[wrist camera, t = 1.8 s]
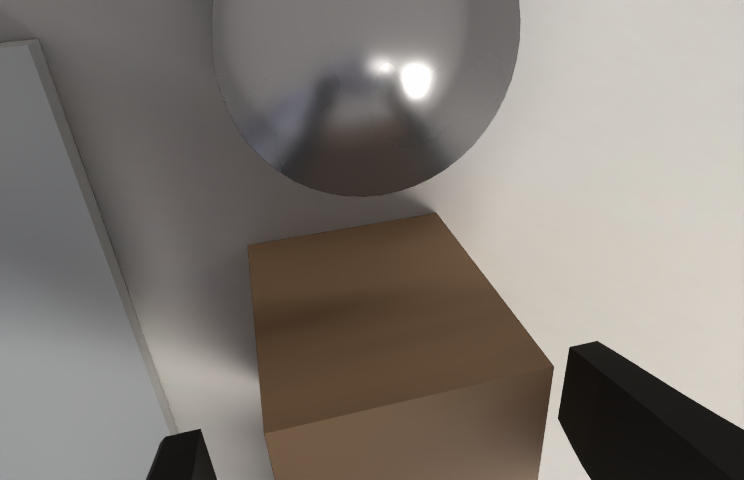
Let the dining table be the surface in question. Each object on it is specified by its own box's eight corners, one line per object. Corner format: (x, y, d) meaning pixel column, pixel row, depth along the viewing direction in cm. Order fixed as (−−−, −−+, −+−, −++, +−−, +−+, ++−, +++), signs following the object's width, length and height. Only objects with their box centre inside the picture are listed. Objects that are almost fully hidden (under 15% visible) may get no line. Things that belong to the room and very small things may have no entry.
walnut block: (436, 353, 15) (529, 535, 11) (277, 388, 15) (303, 600, 10) (436, 212, 13) (554, 367, 8) (247, 244, 12) (263, 433, 8)
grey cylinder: (423, 103, 12) (506, 176, 8) (233, 125, 11) (241, 214, 8) (425, -121, 10) (536, -141, 6) (192, -112, 9) (177, -132, 6)
